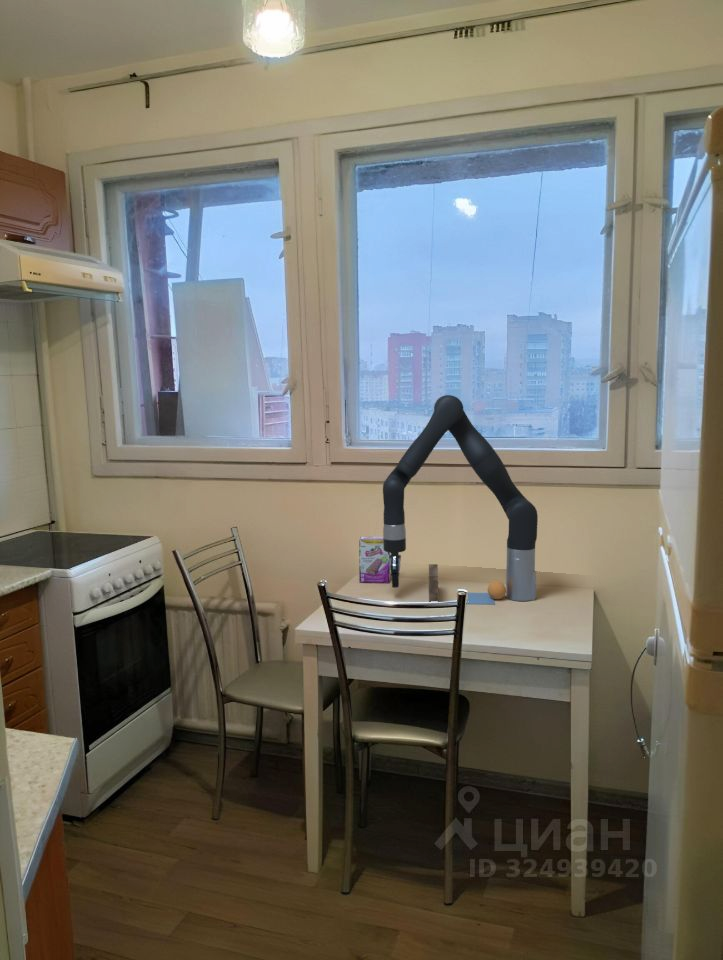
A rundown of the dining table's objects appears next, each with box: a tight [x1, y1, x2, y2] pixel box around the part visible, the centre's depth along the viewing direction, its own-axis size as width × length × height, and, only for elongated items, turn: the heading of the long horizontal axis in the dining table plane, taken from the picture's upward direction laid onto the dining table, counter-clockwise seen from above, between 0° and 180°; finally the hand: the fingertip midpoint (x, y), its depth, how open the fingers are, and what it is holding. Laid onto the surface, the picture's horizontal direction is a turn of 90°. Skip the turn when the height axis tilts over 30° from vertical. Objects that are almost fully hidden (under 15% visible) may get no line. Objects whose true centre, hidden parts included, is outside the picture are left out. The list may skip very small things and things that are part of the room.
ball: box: [487, 580, 506, 600], centre depth 235 cm, size 6×6×6 cm
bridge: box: [428, 563, 439, 603], centre depth 237 cm, size 3×15×10 cm, turn 175°
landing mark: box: [466, 592, 496, 605], centre depth 236 cm, size 12×12×1 cm
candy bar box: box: [358, 536, 391, 584], centre depth 257 cm, size 11×5×16 cm, turn 84°
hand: (395, 586), depth 238 cm, fingers closed
